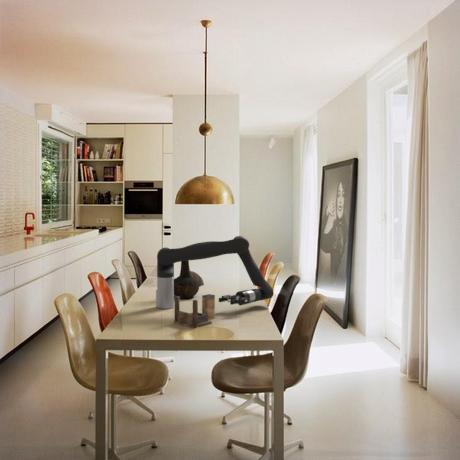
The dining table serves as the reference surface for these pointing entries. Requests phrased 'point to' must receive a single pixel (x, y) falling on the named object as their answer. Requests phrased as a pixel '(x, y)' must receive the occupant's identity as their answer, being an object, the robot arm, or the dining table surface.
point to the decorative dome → (197, 278)
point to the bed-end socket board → (190, 316)
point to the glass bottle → (185, 282)
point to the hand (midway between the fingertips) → (224, 301)
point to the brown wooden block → (208, 305)
